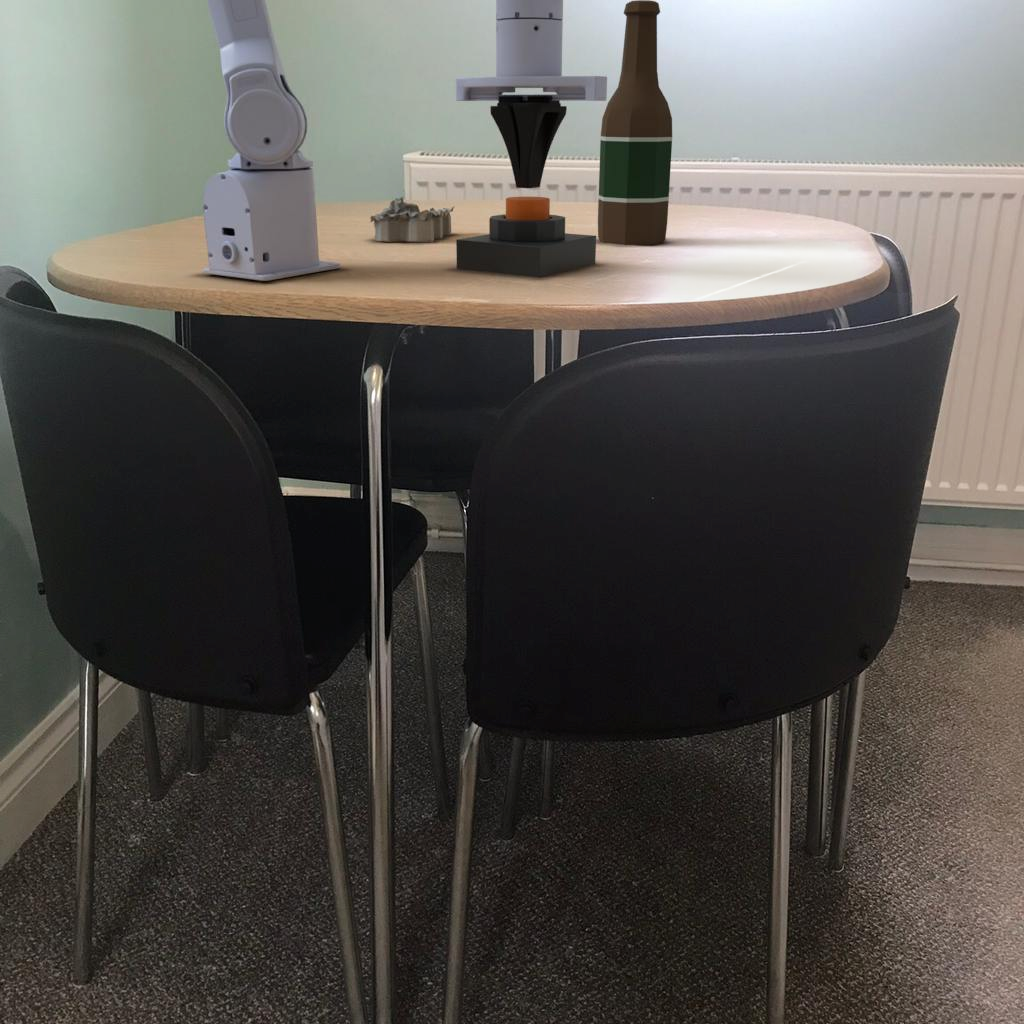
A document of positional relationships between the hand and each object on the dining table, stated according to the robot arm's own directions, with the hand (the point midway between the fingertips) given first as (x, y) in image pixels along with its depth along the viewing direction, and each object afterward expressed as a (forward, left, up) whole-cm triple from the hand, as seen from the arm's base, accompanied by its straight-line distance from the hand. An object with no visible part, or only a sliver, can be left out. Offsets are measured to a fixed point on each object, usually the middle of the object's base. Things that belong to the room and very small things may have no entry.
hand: (528, 187), depth 92 cm
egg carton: (+12, +23, -7) cm, 27 cm away
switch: (0, 0, -3) cm, 3 cm away
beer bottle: (+23, +1, -7) cm, 24 cm away
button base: (0, 0, -7) cm, 7 cm away
